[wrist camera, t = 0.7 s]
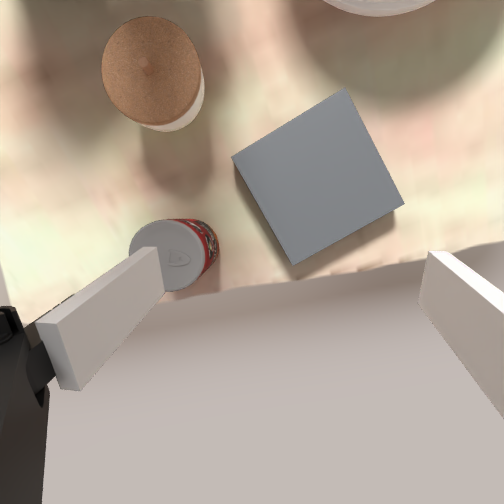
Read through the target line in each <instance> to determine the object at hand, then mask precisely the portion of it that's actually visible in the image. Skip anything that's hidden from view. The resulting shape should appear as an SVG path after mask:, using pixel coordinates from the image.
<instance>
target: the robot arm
mask: <svg viewBox="0 0 504 504" xmlns="http://www.w3.org/2000/svg"><path fill="white" fill-rule="evenodd" d="M164 294H165V290H164V285H163V279H162V273H161V268H160V262H159V256H158V251H157V247H142V248H141V249H139V250H138V251H136V252H135V253H133V254H132V255H131V256H129V257H128V258H126V259H125V260H123V261H122V262H120V263H119V264H118V265H116V266H115V267H113V268H112V269H110V270H109V271H108V272H106V273H105V274H103V275H102V276H100V277H99V278H97V279H96V280H95V281H93V282H92V283H90V284H89V285H87V286H86V287H85V288H83V289H82V290H80V291H79V292H77V293H76V294H73V295H71V296H70V297H68V298H67V299H65V300H64V301H62V302H61V304H58V305H57V306H55V307H54V308H53V309H52V310H49V311H48V312H47V313H45V314H44V315H42V316H41V317H39V318H38V319H36V320H35V321H33V322H32V323H31V324H29V325H28V326H26V327H25V328H23V326H22V323H21V320H20V318H19V316H18V313H17V311H16V308H15V307H12V306H1V307H0V504H42V491H43V478H44V465H45V451H46V438H47V424H48V411H49V398H50V392H49V388H48V386H47V384H48V383H49V382H50V381H51V380H52V379H53V378H54V377H55V376H56V378H57V381H58V384H59V386H60V389H64V390H74V391H81V390H82V389H83V388H84V387H85V385H86V384H87V383H88V382H89V381H90V380H91V378H92V377H93V376H94V375H95V374H96V373H97V372H98V370H99V369H100V368H101V367H102V366H103V364H104V363H105V362H106V361H107V360H108V359H109V358H110V356H111V355H112V354H113V353H114V352H115V351H116V349H117V348H118V347H119V346H120V345H121V344H122V342H123V341H124V340H125V339H126V338H127V337H128V335H129V334H130V333H131V332H132V331H133V330H134V328H135V327H136V326H137V325H138V324H139V323H140V321H141V320H142V319H143V318H144V317H145V315H146V314H147V313H148V312H149V311H150V310H151V309H152V307H153V306H154V305H155V304H156V303H157V302H158V300H159V299H160V298H161V297H162V296H163V295H164ZM418 305H419V306H420V307H421V309H422V310H423V311H424V313H425V314H426V315H427V317H428V318H429V319H430V321H431V322H432V324H433V325H434V326H435V327H436V329H437V330H438V332H439V333H440V334H441V335H442V337H443V338H444V340H445V341H446V342H447V344H448V345H449V346H450V348H451V349H452V350H453V351H454V353H455V354H456V356H457V357H458V358H459V360H460V361H461V362H462V364H463V365H464V366H465V368H466V369H467V370H468V372H469V373H470V374H471V376H472V377H473V378H474V380H475V381H476V382H477V384H478V385H479V386H480V388H481V389H482V390H483V392H484V393H485V395H486V396H487V397H488V399H489V400H490V401H491V403H492V404H493V405H494V407H495V408H496V409H497V411H498V412H499V413H500V415H501V416H502V417H503V419H504V293H503V292H502V291H500V290H499V289H498V288H496V287H495V286H494V285H492V284H491V283H489V282H488V281H487V280H485V279H484V278H483V277H481V276H480V275H479V274H477V273H476V272H474V271H473V270H472V269H470V268H469V267H468V266H466V265H465V264H464V263H462V262H461V261H459V260H458V259H457V258H455V257H454V256H453V255H451V254H450V253H449V252H447V251H428V256H427V260H426V265H425V270H424V275H423V280H422V284H421V289H420V294H419V299H418Z"/></svg>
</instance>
